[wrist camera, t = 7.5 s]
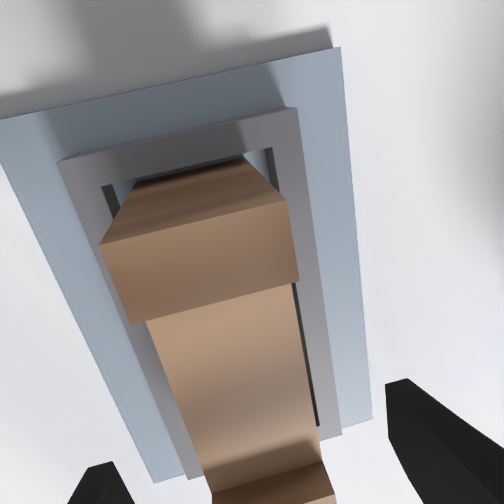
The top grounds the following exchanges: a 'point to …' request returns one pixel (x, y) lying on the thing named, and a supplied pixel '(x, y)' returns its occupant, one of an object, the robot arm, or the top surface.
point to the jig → (186, 158)
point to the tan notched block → (224, 325)
